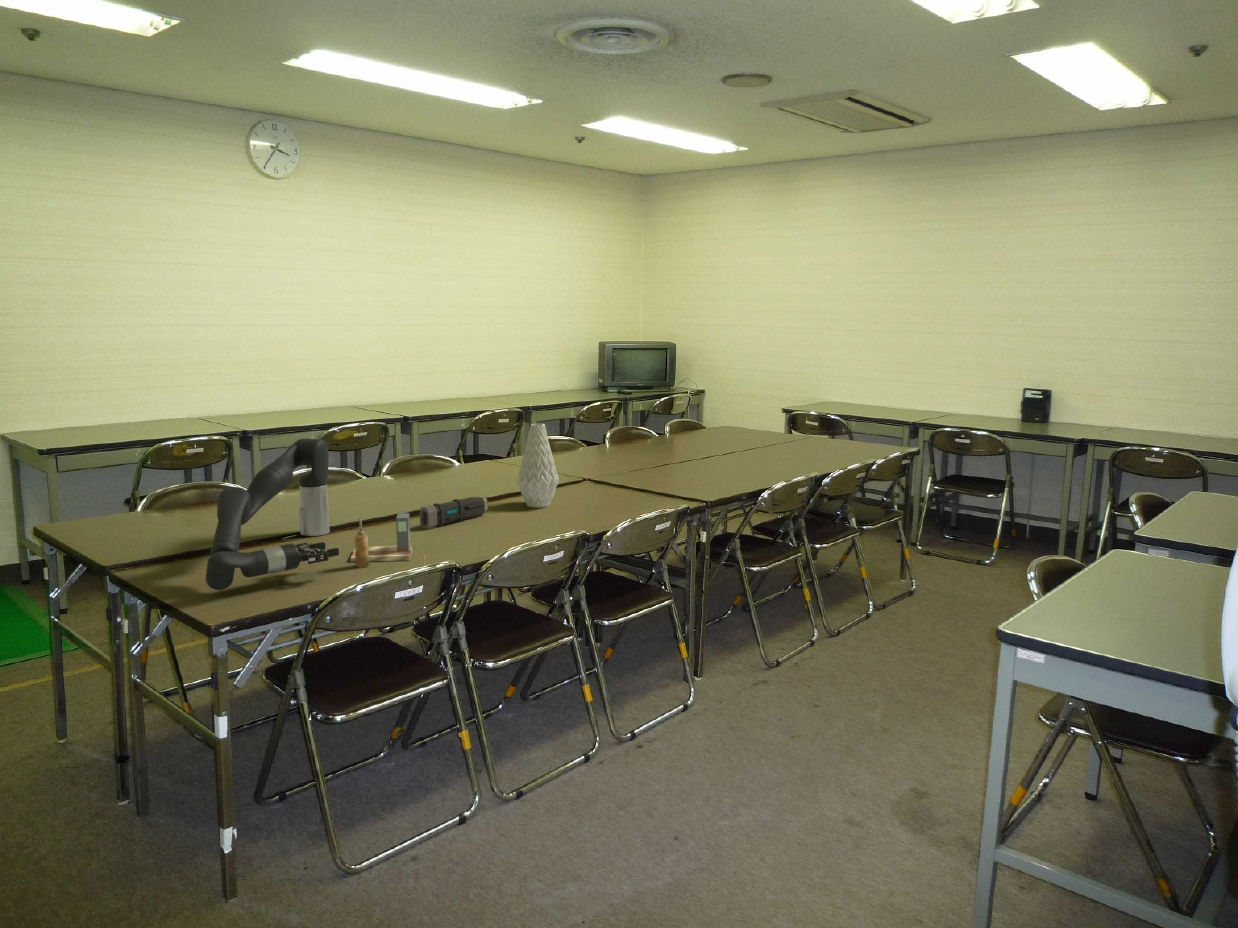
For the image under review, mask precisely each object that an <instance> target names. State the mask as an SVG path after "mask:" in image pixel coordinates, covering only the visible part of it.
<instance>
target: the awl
mask: <svg viewBox="0 0 1238 928" xmlns="http://www.w3.org/2000/svg"><path fill="white" fill-rule="evenodd" d="M358 520H359V526H358V527H359V530H358V531H357V533H355V534H354V550H355V557H356V562H355V567H356V568H358V569H363V568H368V567H369V560H368V547H369V539H368V538H369V537H368V534H369V533H366V532H365V530H363V522H362V521H363V520H362V517H361V518H359V519H358Z"/></svg>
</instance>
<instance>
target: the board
mask: <svg viewBox="0 0 1238 928" xmlns="http://www.w3.org/2000/svg"><path fill="white" fill-rule="evenodd" d="M413 546H414V545H411V544H410V549H409V551H397V545H381V546H368V560H369V562H394V561H395V562H402V561H411V558H412V554H413V549H414V547H413ZM350 556H351V557H350V562H351V563H356V557H355V549H354V550H353V553H352V554H351V555H350Z"/></svg>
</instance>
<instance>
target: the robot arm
mask: <svg viewBox="0 0 1238 928" xmlns="http://www.w3.org/2000/svg"><path fill="white" fill-rule="evenodd" d="M329 458H330V457H329V446H328V443H327V442H326V441H325V440H324V439H319V438H318V439H317V438H300V439H298V440H296V441H294V442H293V443H292V444H291V445H290V447H288V449H286V451H284V452H283V453H282V454H281V455H280V456H278V457H277V458H276V459H274V460H273V461H272V462H270V463H269V464H267V465H266V466H265V467H263V468H262V469H260V470H259V471H258V472H257V473H256V474H255V476H254V477H253V478H252V480H251V482H250V483H249V485H248V487H247V489H245V488H243V487H238V486H230V487H226V488H224V489H222V490H221V492H219V494H218V497H217V503H216V505H217V506H216V511H217V512H216V515H217V521H218V522H217V525H216V529H215V532H214V536H213V540H212V545H211V548H210V549H211V550H210V556H209V557H208V559H207V564H206V572H205V582H206V584H207V586H208V587H209V588H211V589H212V590H214V591H223V590H225V589H227V588H229V587H230V586H231V585H232V583H233V581H234V576H235V570H236V569H240V572H241V574H242V575H243V576H244V577H245V578H253V577H259V576H263V575H270V574H271V575H272V574H277V573H278V574H279V573H283V572H287V571H291V570H292V571H293V570H296V569H297V568H299V566H300V563H301V562H303V563H308V564H309V565H311V564H317V563H322V562H323V563H324V562H327V561H329V558H332V557H336V556H339V555H340V549H339V548H338V547H334V548H329V549H326V543H325V542H324V541H321V542H316V543H312V542H311V543H308V542H302V543H301V542H300V543H297V544H294V543H286V544H281V545H280V544H279V545H276V546H270V547H267V548H264V549H259V550H253V551H249V552H245V551H244V552H242V551H241V552H240V551H239V549H240V543H241V532H242V531H241V530H242V529H241V528H242V526H244V525H245V524H247V523H248V522H249V521H250V520H251V519H252V517H254V516H255V515H256V513H258V511H259V510H261V508H263V507H264V506H265V505H266V504H267V503H269V502H270V501H271V500H272V499H273V498H274V497H276V496H277V495H278V494H279V493H282V491H284V490H285V489H287V487H289V485H290V484H291V483H292V481H293V477H294V470H295V469H296V468H298V467H300V466H310V467H311V468H310V469H311V471H310V472H309V473H308V474H307V473H306V474H303V475H301V476H300V477H299V479H298V485H299V505H300V507H299V508H298V510H299V511H298V512H299V513H298V515H299V528H300V529H299V531H300V532H299V533H300V536H308V537H315V536H316V537H317V536H323V535H324V536H325V535H327V534H329V533H330V515H329V513H330V512H329V493H328V489H329V488H328V478H329Z"/></svg>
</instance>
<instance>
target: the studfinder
mask: <svg viewBox="0 0 1238 928" xmlns="http://www.w3.org/2000/svg"><path fill="white" fill-rule="evenodd" d="M410 521H411V520H410V513H409V512H403V513H402V512H400V513H397V515H396V518H395V522H396V523H395V524H396V546H397V551H409V549H410V545H411V524H410Z"/></svg>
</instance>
